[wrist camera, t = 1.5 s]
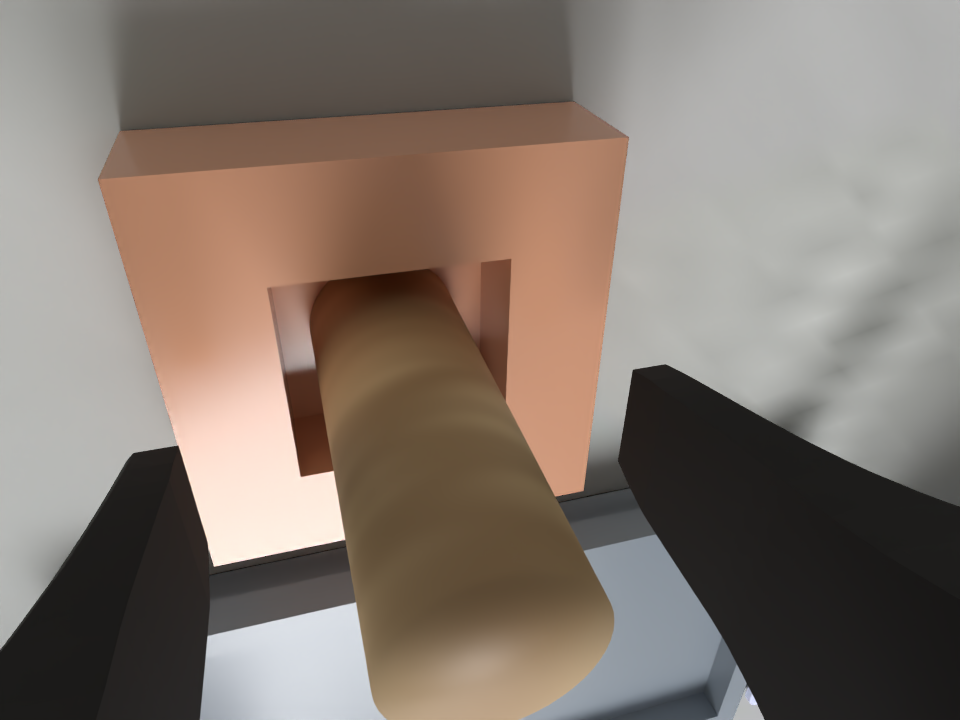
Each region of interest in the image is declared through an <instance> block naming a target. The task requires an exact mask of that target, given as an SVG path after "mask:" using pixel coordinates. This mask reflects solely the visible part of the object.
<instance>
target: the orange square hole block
mask: <svg viewBox="0 0 960 720" xmlns="http://www.w3.org/2000/svg"><path fill="white" fill-rule="evenodd" d="M628 140H629V137H628V136H626V135H625V134H623V133H622V132H620V131H619V130H617V129H615V128H614V127H612V126H611V125H609V124H608V123H606V122H605V121H603V120H602V119H600V118H599V117H597V116H596V115H594V114H593V113H591V112H590V111H588V110H586V109H585V108H583V107H582V106H580V105H579V104H577V103H576V102H558V103H543V104H528V105H512V106H497V107H481V108H466V109H451V110H435V111H420V112H404V113H389V114H374V115H358V116H343V117H328V118H312V119H297V120H281V121H266V122H251V123H235V124H220V125H205V126H189V127H174V128H158V129H143V130H128V131H119V134H118V136H117V138H116V140H115V143H114V145H113V147H112V149H111V151H110V154H109V156H108V158H107V160H106V163H105V165H104V167H103V169H102V171H101V174H100V176H99V178H98V181H99V185H100V188H101V191H102V195H103V198H104V201H105V205H106V208H107V211H108V215H109V218H110V221H111V225H112V228H113V231H114V235H115V238H116V241H117V245H118V248H119V251H120V255H121V258H122V261H123V265H124V268H125V271H126V275H127V278H128V281H129V285H130V288H131V291H132V295H133V298H134V301H135V305H136V308H137V311H138V315H139V318H140V321H141V325H142V328H143V331H144V335H145V338H146V341H147V345H148V348H149V351H150V355H151V358H152V361H153V365H154V368H155V371H156V375H157V378H158V381H159V384H160V388H161V391H162V394H163V398H164V401H165V404H166V408H167V411H168V414H169V418H170V421H171V424H172V428H173V431H174V434H175V438H176V441H177V444H178V446H179V448H180V452H181V455H182V458H183V462H184V465H185V468H186V472H187V475H188V478H189V482H190V485H191V488H192V492H193V495H194V498H195V502H196V505H197V508H198V512H199V515H200V518H201V522H202V525H203V528H204V532H205V535H206V538H207V542H208V548H209V551H210V554H211V558H212V561H213V564H214V567H215V566H220V565H225V564H230V563H234V562H239V561H244V560H249V559H254V558H259V557H264V556H269V555H273V554H278V553H283V552H288V551H293V550H298V549H303V548H308V547H312V546H317V545H322V544H327V543H332V542H337V541H342V540H345V535H344V529H343V523H342V517H341V511H340V506H339V500H338V494H337V488H336V482H335V476H334V470H333V464H332V458H331V452H330V447H329V441H328V435H327V429H326V423H325V417H324V411H323V405H322V399H321V394H320V388H319V382H318V376H317V370H316V364H315V358H314V352H313V346H312V340H311V335H310V315H311V311H312V307H313V305H314V302H315V300H316V298H317V296H318V295H319V293H320V291H321V290H322V289H323V287H324V286H325V285H326V284H327V283H328V282H329V281H330V280H337V279H346V278H354V277H362V276H371V275H379V274H388V273H396V272H404V271H413V270H421V269H429V270H431V271H432V272H433V273H435V274H436V275H437V276H438V277H439V278H440V280H441V281H442V282H443V283H444V285H445V287H446V288H447V290H448V292H449V294H450V296H451V297H452V299H453V301H454V303H455V305H456V307H457V309H458V311H459V313H460V315H461V317H462V319H463V320H464V322H465V324H466V326H467V328H468V330H469V332H470V334H471V336H472V338H473V340H474V342H475V344H476V345H477V347H478V349H479V351H480V353H481V355H482V357H483V359H484V361H485V363H486V365H487V367H488V368H489V370H490V372H491V374H492V376H493V378H494V380H495V382H496V384H497V386H498V388H499V390H500V391H501V393H502V395H503V397H504V399H505V401H506V403H507V405H508V407H509V409H510V411H511V413H512V414H513V416H514V418H515V420H516V422H517V424H518V426H519V428H520V430H521V432H522V434H523V436H524V438H525V439H526V441H527V443H528V445H529V447H530V449H531V451H532V453H533V455H534V457H535V459H536V461H537V462H538V464H539V466H540V468H541V470H542V472H543V474H544V476H545V478H546V480H547V482H548V484H549V485H550V487H551V489H552V491H553V493H554V495H555V497H556V496H561V495H566V494H571V493H576V492H580V491H584V483H585V475H586V467H587V460H588V452H589V444H590V436H591V428H592V421H593V413H594V405H595V397H596V389H597V382H598V374H599V366H600V358H601V350H602V343H603V335H604V327H605V319H606V312H607V304H608V296H609V288H610V280H611V273H612V265H613V257H614V249H615V241H616V234H617V226H618V218H619V210H620V202H621V195H622V187H623V179H624V171H625V163H626V156H627V148H628Z"/></svg>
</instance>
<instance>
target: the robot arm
mask: <svg viewBox="0 0 960 720" xmlns="http://www.w3.org/2000/svg"><path fill="white" fill-rule="evenodd" d="M618 462H619V464H620V467H621V469H622V471H623V473H624V475H625V478H626V480H627V482H628V484H629V487H630V489H631V491H632V493H633V495H634V497H635V499H636V501H637V503H638V505H639V507H640V509H641V511H642V513H643V514H644V516H645V518H646V519H647V521H648V523H649V524H650V526H651V527H652V529H653V530H654V532H655V533H656V535H657V537H658V538H659V540H660V541H661V543H662V544H663V546H664V548H665V549H666V551H667V552H668V554H669V555H670V557H671V558H672V560H673V561H674V563H675V564H676V566H677V567H678V569H679V570H680V572H681V574H682V575H683V577H684V578H685V580H686V581H687V583H688V584H689V586H690V587H691V589H692V590H693V592H694V593H695V595H696V596H697V598H698V599H699V601H700V603H701V604H702V606H703V607H704V609H705V610H706V612H707V613H708V615H709V616H710V618H711V619H712V621H713V623H714V624H715V626H716V628H717V629H718V631H719V633H720V634H721V636H722V638H723V639H724V641H725V643H726V645H727V646H728V648H729V650H730V652H731V654H732V656H733V658H734V660H735V662H736V664H737V666H738V668H739V669H740V671H741V673H742V675H743V677H744V679H745V681H746V683H747V685H748V688H747V691H746V693H745V697H746V698H747V700H748V701H749V703H750V704H752V705H758V707H759V709H760V711H761V713H762V715H763V717H764V719H765V720H960V507H959V506H956V505H953V504H950V503H947V502H944V501H942V500H939V499H936V498H934V497H931V496H928V495H926V494H923V493H920V492H918V491H915V490H913V489H911V488H908V487H906V486H903V485H901V484H899V483H896V482H894V481H891V480H889V479H887V478H884V477H882V476H879V475H877V474H875V473H872V472H870V471H868V470H866V469H863V468H861V467H859V466H857V465H855V464H852V463H850V462H848V461H846V460H844V459H842V458H840V457H838V456H836V455H834V454H832V453H830V452H828V451H826V450H824V449H822V448H820V447H818V446H815V445H813V444H811V443H809V442H807V441H806V440H804V439H802V438H800V437H798V436H796V435H794V434H792V433H790V432H788V431H786V430H785V429H783V428H781V427H779V426H777V425H775V424H773V423H772V422H770V421H768V420H766V419H764V418H763V417H761V416H759V415H757V414H755V413H754V412H752V411H750V410H748V409H746V408H745V407H743V406H741V405H739V404H738V403H736V402H734V401H732V400H731V399H729V398H727V397H725V396H723V395H722V394H720V393H718V392H716V391H715V390H713V389H711V388H709V387H708V386H706V385H704V384H702V383H700V382H699V381H697V380H695V379H693V378H691V377H690V376H688V375H686V374H684V373H682V372H680V371H678V370H676V369H674V368H672V367H670V366H668V365H666V364H665V365H659V366H653V367H647V368H641V369H635V370H633V372H632V378H631V385H630V391H629V397H628V403H627V409H626V415H625V421H624V428H623V434H622V440H621V446H620V452H619V458H618ZM209 613H210V586H209V558H208V542H207V538H206V535H205V532H204V528H203V525H202V522H201V518H200V515H199V512H198V508H197V505H196V502H195V498H194V495H193V492H192V488H191V485H190V482H189V478H188V475H187V472H186V468H185V465H184V462H183V458H182V455H181V452H180V448H179V446H173V447H167V448H161V449H155V450H149V451H143V452H137V453H133V454H132V455H131V457H130V458H129V459H128V460H127V461H126V463H125V465H124V467H123V468H122V470H121V472H120V473H119V475H118V477H117V479H116V480H115V482H114V484H113V485H112V487H111V489H110V491H109V492H108V494H107V496H106V497H105V499H104V501H103V502H102V504H101V506H100V507H99V509H98V510H97V512H96V514H95V515H94V517H93V519H92V520H91V522H90V523H89V525H88V527H87V528H86V530H85V531H84V533H83V534H82V536H81V537H80V539H79V540H78V542H77V543H76V545H75V547H74V548H73V550H72V551H71V553H70V554H69V556H68V557H67V559H66V560H65V562H64V563H63V565H62V566H61V568H60V569H59V571H58V572H57V574H56V575H55V577H54V578H53V580H52V581H51V582H50V584H49V585H48V587H47V588H46V589H45V591H44V592H43V593H42V595H41V596H40V597H39V599H38V600H37V602H36V603H35V604H34V606H33V607H32V608H31V610H30V611H29V612H28V614H27V615H26V617H25V618H24V619H23V621H22V622H21V623H20V625H19V626H18V627H17V629H16V630H15V631H14V633H13V634H12V636H11V637H10V638H9V639H8V641H7V642H6V643H5V645H4V646H3V647H2V648H1V650H0V720H200V713H201V702H202V692H203V681H204V670H205V659H206V648H207V637H208V625H209Z"/></svg>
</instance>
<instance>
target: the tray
mask: <svg viewBox="0 0 960 720" xmlns="http://www.w3.org/2000/svg"><path fill="white" fill-rule="evenodd" d="M559 505H560V507H561V509H562V510H563V512H564V514H565V516H566V518H567V520H568V522H569V524H570V526H571V528H572V530H573V532H574V533H575V535H576V537H577V539H578V541H579V543H580V545H581V547H582V549H583V551H584V553H585V555H586V556H587V558H588V560H589V562H590V564H591V566H592V568H593V570H594V572H595V574H596V576H597V578H598V579H599V581H600V583H601V585H602V587H603V589H604V591H605V593H606V595H607V597H608V599H609V601H610V603H611V605H612V608H613V611H614V620H615V621H614V631H613V634H612V638H611V641H610V643H609V645H608V647H607V650H606V651H605V653H604V654H603V656H602V658H601V659H600V661H599V662H598V663H597V665H596V666H595V667H594V668H593V670H592V671H591V672H590V673H589V674H588V675H587V676H586V677H585V678H584V679H583V680H582V681H581V682H580V683H578V684H577V685H576V686H575V687H574V688H573V689H571V690H570V691H569V692H567V693H566V694H565V695H563V696H562V697H560V698H559V699H557V700H556V701H554V702H553V703H551V704H550V705H548V706H546V707H544V708H542V709H540V710H539V711H537V712H535V713H533V714H530V715H528V716H526V717H524V718H522V719H519V720H733V718H734V715H735V713H736V710H737V708H738V705H739V702H740V700H741V697H742V695H743V692H744V690H745V687H746V684H747V683H746V681H745V679H744V677H743V675H742V673H741V671H740V669H739V668H738V666H737V664H736V662H735V660H734V658H733V656H732V654H731V652H730V650H729V648H728V646H727V645H726V643H725V641H724V639H723V638H722V636H721V634H720V633H719V631H718V629H717V628H716V626H715V624H714V623H713V621H712V619H711V618H710V616H709V615H708V613H707V612H706V610H705V609H704V607H703V606H702V604H701V603H700V601H699V599H698V598H697V596H696V595H695V593H694V592H693V590H692V589H691V587H690V586H689V584H688V583H687V581H686V580H685V578H684V577H683V575H682V574H681V572H680V570H679V569H678V567H677V566H676V564H675V563H674V561H673V560H672V558H671V557H670V555H669V554H668V552H667V551H666V549H665V548H664V546H663V544H662V543H661V541H660V540H659V538H658V537H657V535H656V533H655V532H654V530H653V529H652V527H651V526H650V524H649V523H648V521H647V519H646V518H645V516H644V514H643V513H642V511H641V509H640V507H639V505H638V503H637V501H636V499H635V497H634V495H633V493H632V491H631V489H630V488H629V489H624V490H619V491H614V492H609V493H605V494H600V495H595V496H590V497H585V498H581V499H576V500H571V501H566V502H561V503H559ZM209 586H210V613H209V625H208V637H207V648H206V659H205V670H204V681H203V692H202V702H201V713H200V720H387V719H386V718H384V716H383V715H382V714H381V713H380V712H379V711H378V709H377V707H376V705H375V704H374V701H373V698H372V694H371V688H370V682H369V677H368V671H367V665H366V659H365V653H364V647H363V641H362V635H361V629H360V623H359V618H358V612H357V606H356V600H355V594H354V588H353V582H352V576H351V570H350V565H349V559H348V553H347V547H345V548H340V549H335V550H330V551H325V552H321V553H316V554H311V555H306V556H301V557H297V558H292V559H287V560H282V561H277V562H272V563H268V564H263V565H258V566H253V567H248V568H244V569H239V570H234V571H229V572H224V573H220V574H215V575H210V576H209Z"/></svg>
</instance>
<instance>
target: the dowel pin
mask: <svg viewBox="0 0 960 720" xmlns="http://www.w3.org/2000/svg"><path fill="white" fill-rule="evenodd" d="M310 335H311V340H312V346H313V352H314V358H315V364H316V370H317V376H318V382H319V388H320V394H321V399H322V405H323V411H324V417H325V423H326V429H327V435H328V441H329V447H330V452H331V458H332V464H333V470H334V476H335V482H336V488H337V494H338V500H339V506H340V511H341V517H342V523H343V529H344V535H345V541H346V547H347V553H348V559H349V565H350V570H351V576H352V582H353V588H354V594H355V600H356V606H357V612H358V618H359V623H360V629H361V635H362V641H363V647H364V653H365V659H366V665H367V671H368V677H369V682H370V688H371V694H372V698H373V701H374V704H375V705H376V707H377V709H378V711H379V712H380V713H381V714H382V715H383V716H384V718H386V719H387V720H519V719H522V718H524V717H526V716H528V715H530V714H533V713H535V712H537V711H539V710H540V709H542V708H544V707H546V706H548V705H550V704H551V703H553V702H554V701H556V700H557V699H559V698H560V697H562V696H563V695H565V694H566V693H567V692H569V691H570V690H571V689H573V688H574V687H575V686H576V685H577V684H578V683H580V682H581V681H582V680H583V679H584V678H585V677H586V676H587V675H588V674H589V673H590V672H591V671H592V670H593V668H594V667H595V666H596V665H597V663H598V662H599V661H600V659H601V658H602V656H603V654H604V653H605V651H606V650H607V647H608V645H609V643H610V641H611V638H612V634H613V631H614V621H615V620H614V611H613V608H612V605H611V603H610V601H609V599H608V597H607V595H606V593H605V591H604V589H603V587H602V585H601V583H600V581H599V579H598V578H597V576H596V574H595V572H594V570H593V568H592V566H591V564H590V562H589V560H588V558H587V556H586V555H585V553H584V551H583V549H582V547H581V545H580V543H579V541H578V539H577V537H576V535H575V533H574V532H573V530H572V528H571V526H570V524H569V522H568V520H567V518H566V516H565V514H564V512H563V510H562V509H561V507H560V505H559V503H558V501H557V499H556V497H555V495H554V493H553V491H552V489H551V487H550V485H549V484H548V482H547V480H546V478H545V476H544V474H543V472H542V470H541V468H540V466H539V464H538V462H537V461H536V459H535V457H534V455H533V453H532V451H531V449H530V447H529V445H528V443H527V441H526V439H525V438H524V436H523V434H522V432H521V430H520V428H519V426H518V424H517V422H516V420H515V418H514V416H513V414H512V413H511V411H510V409H509V407H508V405H507V403H506V401H505V399H504V397H503V395H502V393H501V391H500V390H499V388H498V386H497V384H496V382H495V380H494V378H493V376H492V374H491V372H490V370H489V368H488V367H487V365H486V363H485V361H484V359H483V357H482V355H481V353H480V351H479V349H478V347H477V345H476V344H475V342H474V340H473V338H472V336H471V334H470V332H469V330H468V328H467V326H466V324H465V322H464V320H463V319H462V317H461V315H460V313H459V311H458V309H457V307H456V305H455V303H454V301H453V299H452V297H451V296H450V294H449V292H448V290H447V288H446V287H445V285H444V283H443V282H442V281H441V280H440V278H439V277H438V276H437V275H436V274H435V273H433V272H432V271H431V270H429V269H421V270H413V271H404V272H396V273H388V274H379V275H371V276H362V277H354V278H346V279H337V280H330V281H329V282H328V283H327V284H326V285H325V286H324V287H323V289H322V290H321V291H320V293H319V295H318V296H317V298H316V300H315V302H314V305H313V307H312V311H311V315H310Z"/></svg>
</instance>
